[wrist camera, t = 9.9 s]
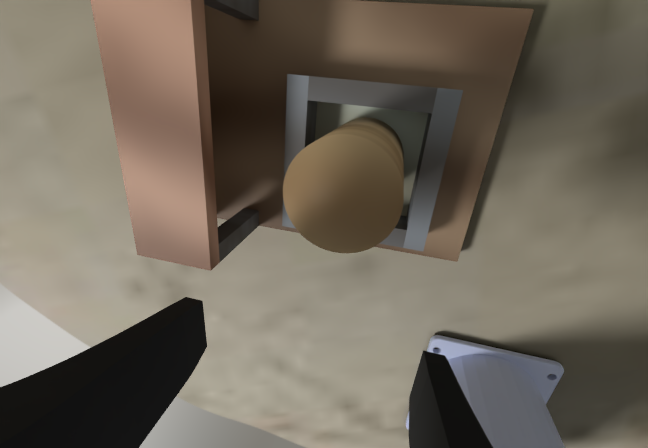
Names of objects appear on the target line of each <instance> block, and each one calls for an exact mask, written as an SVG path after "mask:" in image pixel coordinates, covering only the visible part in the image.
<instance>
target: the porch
mask: <svg viewBox="0 0 648 448" xmlns="http://www.w3.org/2000/svg"><path fill="white" fill-rule="evenodd" d="M91 4H92V10H93V15H94V21H95V26H96V32H97V37H98V42H99V48H100V53H101V59H102V64H103V70H104V75H105V81H106V86H107V91H108V97H109V102H110V108H111V113H112V119H113V124H114V130H115V135H116V140H117V146H118V151H119V157H120V162H121V168H122V173H123V178H124V184H125V189H126V195H127V200H128V206H129V211H130V217H131V222H132V227H133V233H134V238H135V244H136V249H137V255H141V256H145V257H150V258H155V259H159V260H164V261H168V262H173V263H178V264H182V265H187V266H192V267H196V268H201V269H206V270H210V271H211V270H212V269H213V268H214V267H215V266H216V265H217V264H218V263H219V262H220V261H222V260H223V259H224V258H225V257H226V256H227V255H228V254H229V253H230V252H231V251H232V250H233V249H234V248H235V247H236V246H237V245H239V244H240V243H241V242H242V241H243V240H244V239H245V238H246V237H247V236H248V235H249V234H250V233H251V232H252V231H253V230H254V229H255V228H257V227H258V226H264V227H270V228H275V229H281V230H286V231H292V232H297V233H299V232H298V230H297V229H296V228H295V227H294V225H293V224H292V222H291V220H290V219H289V217H288V214H287V212H286V209H285V205H284V200H283V184H284V179H285V175H286V172H287V170H288V167H289V165H290V164H291V162H292V160H293V159H294V158H295V157H296V155H297V154H298V153H299V152H300V151H301V150H302V149H304V148H305V147H307V146H308V145H309V144H311V143H313V142H315V141H316V140H318V139H320V138H321V137H323V136H325V135H326V134H328V133H330V132H332V131H333V130H335V129H337V128H338V127H340V126H342V125H343V124H345V123H347V122H349V121H351V120H354V119H357V118H364V117H367V118H375V119H378V120H381V121H383V122H385V123H386V124H388V125H389V126H390V127H391V128H392V129H394V131H395V132H396V133H397V135H398V136H399V138H400V140H401V143H402V146H403V152H404V203H403V209H402V213H401V216H400V219H399V221H398V223H397V225H396V227H395V228H394V230H393V231H392V232H391V233H390V235H389V236H388V237H387V238H385V239H384V240H383V241H382V242H381V243H379V244H378V245H376V246H374V247H379V248H385V249H390V250H396V251H401V252H407V253H412V254H418V255H423V256H429V257H434V258H440V259H445V260H451V261H456V262H457V261H458V258H459V254H460V251H461V248H462V245H463V241H464V238H465V235H466V231H467V228H468V225H469V222H470V218H471V215H472V212H473V208H474V205H475V202H476V199H477V195H478V192H479V189H480V185H481V182H482V179H483V176H484V172H485V169H486V166H487V162H488V159H489V156H490V153H491V149H492V146H493V143H494V139H495V136H496V133H497V130H498V126H499V123H500V120H501V116H502V113H503V110H504V107H505V103H506V100H507V97H508V93H509V90H510V87H511V84H512V80H513V77H514V74H515V70H516V67H517V64H518V61H519V57H520V54H521V51H522V47H523V44H524V41H525V38H526V34H527V31H528V28H529V24H530V21H531V18H532V14H533V11H534V9H526V8H505V7H484V6H463V5H442V4H421V3H400V2H379V1H358V0H91ZM217 218H221V219H226V220H227V221H226V222H225V223H223V224H222V225H221V226H219V227H218V226H217Z"/></svg>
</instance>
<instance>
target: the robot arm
mask: <svg viewBox="0 0 648 448" xmlns="http://www.w3.org/2000/svg"><path fill="white" fill-rule="evenodd" d="M206 347H207V342H206V332H205V322H204V312H203V302H202V301H201V300H196V299H192V298H187V297H185V298H183V299H181V300H179V301H178V302H176V303H174V304H172V305H170V306H168V307H166V308H165V309H163V310H161V311H159V312H157V313H156V314H154V315H152V316H150V317H148V318H147V319H145V320H143V321H141V322H139V323H137V324H136V325H134V326H132V327H130V328H128V329H126V330H125V331H123V332H121V333H119V334H117V335H115V336H113V337H111V338H109V339H107V340H105V341H103V342H101V343H99V344H97V345H95V346H93V347H91V348H90V349H87V350H86V351H84V352H82V353H80V354H78V355H75V356H74V357H71V358H69V359H67V360H65V361H63V362H60V363H58V364H56V365H54V366H52V367H49V368H47V369H45V370H42V371H40V372H38V373H35V374H33V375H31V376H29V377H26V378H24V379H21V380H19V381H16V382H13V383H11V384H8V385H6V386H3V387H0V448H139V447H140V445H141V444H142V442H143V441H144V439H145V438H146V437H147V435H148V434H149V433H150V431H151V430H152V428H153V427H154V426H155V424H156V423H157V422H158V420H159V419H160V418H161V416H162V415H163V413H164V412H165V411H166V409H167V408H168V407H169V405H170V404H171V402H172V401H173V399H174V398H175V397H176V395H177V394H178V393H179V391H180V390H181V389H182V387H183V386H184V384H185V383H186V381H187V380H188V379H189V377H190V376H191V374H192V372H193V371H194V369H195V367H196V366H197V364H198V362H199V360H200V358H201V356H202V355H203V353H204V351H205V349H206ZM435 347H438V348H439V349H434V348H435ZM563 373H564V369H563V367H562V365H561V364H560V363H559V362H556V361H552V360H548V359H544V358H539V357H535V356H530V355H526V354H521V353H517V352H512V351H508V350H503V349H499V348H494V347H490V346H485V345H481V344H476V343H472V342H468V341H463V340H459V339H454V338H450V337H445V336H441V335H435V336H433V337H431V339H430V342H429V345H428V349H427V351H423V354H422V357H421V360H420V364H419V367H418V371H417V374H416V377H415V381H414V384H413V387H412V391H411V394H410V401H409V412H408V416H407V419H406V428H407V429H408V430H409V445H410V448H565V446H564V444H563V442H562V439H561V437H560V435H559V433H558V431H557V428H556V426H555V424H554V422H553V420H552V417H551V415H550V413H549V411H548V408H547V406H546V403H547V402H548V400H549V398H550V396H551V394H552V393H553V391H554V389H555V387H556V386H557V384H558V382H559V380H560V378H561V377H562V375H563ZM549 374H552V375H549Z"/></svg>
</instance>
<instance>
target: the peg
mask: <svg viewBox="0 0 648 448" xmlns="http://www.w3.org/2000/svg"><path fill="white" fill-rule="evenodd" d="M283 200H284V205H285V209H286V212H287V214H288V217H289V219H290V220H291V222H292V224H293V225H294V227H295V228H296V229H297V230H298V232H299V233H300V234H301V235H302V236H303V237H305V238H306V239H307V240H308V241H310V242H311V243H313V244H314V245H316V246H318V247H320V248H323V249H325V250H328V251H332V252H338V253H356V252H361V251H364V250H367V249H370V248H372V247H374V246H376V245H378V244H379V243H381V242H382V241H383V240H384V239H385V238H387V237H388V236H389V235H390V233H391V232H392V231H393V230H394V228H395V227H396V225H397V223H398V221H399V219H400V216H401V213H402V209H403V203H404V152H403V146H402V143H401V140H400V138H399V136H398V135H397V133H396V132H395V131H394V129H392V128H391V127H390V126H389V125H388V124H386V123H385V122H383V121H381V120H378V119H375V118H367V117H364V118H357V119H354V120H351V121H349V122H347V123H345V124H343V125H342V126H340V127H338V128H337V129H335V130H333V131H332V132H330V133H328V134H326V135H325V136H323V137H321V138H320V139H318V140H316V141H315V142H313V143H311V144H309V145H308V146H307V147H305V148H304V149H302V150H301V151H300V152H299V153H298V154H297V155H296V157H295V158H294V159H293V160H292V162H291V164H290V165H289V167H288V170H287V172H286V175H285V179H284V184H283Z"/></svg>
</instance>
